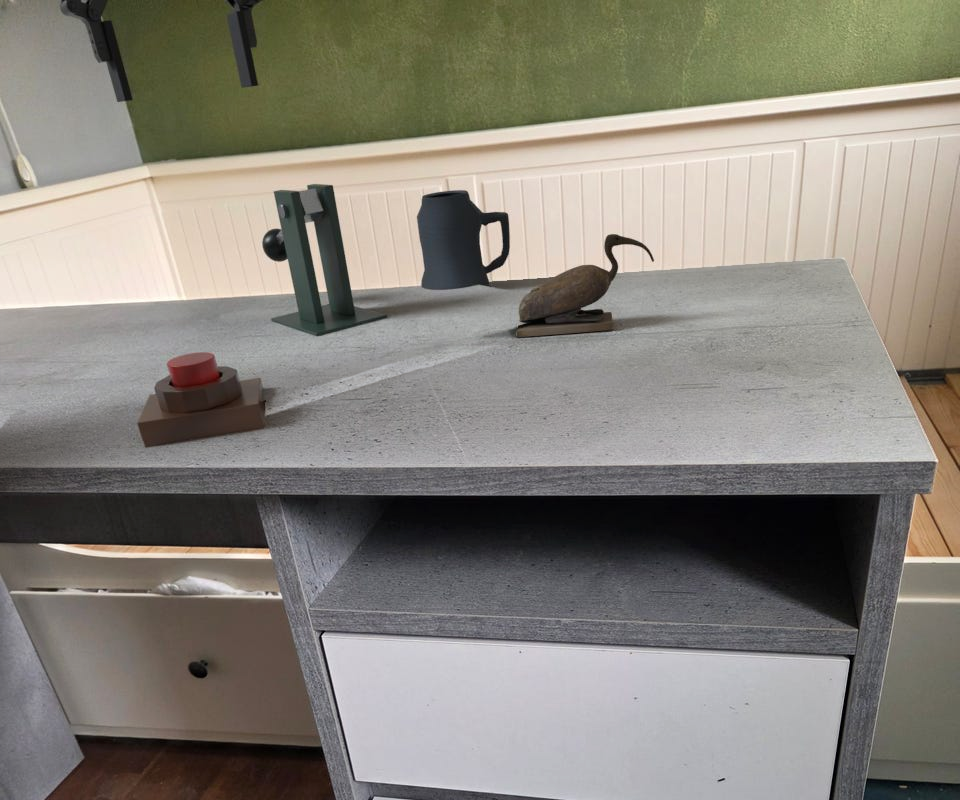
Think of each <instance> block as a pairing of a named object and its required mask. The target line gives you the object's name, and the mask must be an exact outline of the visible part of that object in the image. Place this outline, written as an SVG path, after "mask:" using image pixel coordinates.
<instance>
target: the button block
mask: <svg viewBox="0 0 960 800" xmlns="http://www.w3.org/2000/svg"><path fill="white" fill-rule="evenodd" d="M217 367H218V371H219V374H220V378H219V379H217V380H215V381H213V382H209V383H206V384H203V385H197V386H191V387H173V384H172V380H171V377H170V374H168V375H167V376H166V377H163V378H162V379H160V380H158V381H156V383H155V385H154V386H153V390H154V393H152V394H149V396H148V398H147V400H146V403H145V404H144V407H143V409H142V411H141V414H140V416H139V417H138V420H137V427H138V430H139V433H140V436H141V439H142V442H143V446H144V448H152V447H158V446H163V445H171V444H176V443H182V442H187V441H194V440H201V439H205V438H213V437H219V436H224V435H226V436H227V435H231V434H237V433H243V432H250V431H257V430H262V429H265V422H266V421H265V420H266V405H267V403H266V402H267V399H264V400H263V394H264V386H263V382H262V378H261V377H255V378H248V379H243V380H240V376H239V372H238V370H237V369H236V368H233V367H230V366H227V365H220V366H219V365H217Z"/></svg>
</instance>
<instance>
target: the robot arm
mask: <svg viewBox="0 0 960 800" xmlns="http://www.w3.org/2000/svg"><path fill="white" fill-rule="evenodd" d="M59 1H60V2H59V9H60V12H61V13H62V15H63V16H65V17H71V18H75V19H78V20H80V21H81V22H82V23H83V24H84V25H85V29H86V31H87V35H88V38H89V42H90V44H91V48H92V52H93V56H94V58H95V60H96V61H97V63H98V64H100V63H106V66H107V71H108V73H109V77H110V81H111V84H112V88H113V91H114V96H115V98H116V102H117V103H121V102H129V101H134V99H133V94H132V92H131V88H130V85H129V80H128V77H127V73H126V69H125V66H124V62H123V58H122V55H121V51H120V47H119V44H118V43H119V42H118V40H117V36H116V33H115V28H114V25H113V21H112V20H103V19H102V16H103V14H104V11H105V9H106V6H107V4H108V1H109V0H85V2H83V1H82V0H59ZM224 1H225V3H227V5H228V6H229V8H231V10H232V12H230V13H226V15H225V16H226V20H227V24H228V29H229V34H230V38H231V44H232V48H233V53H234V58H235V63H236V67H237V73H238V77H239V82H240V87H241V88H251V87H258V86H259V82H258V77H257V72H256V68H255V63H254V57H253V53H252V49H255V48H257V45H258V40H257V35H256V30H255V25H254V20H253V13H252V11H253V8H254V7H255V6H256V5H258V4H259V3H261V2H263V1H264V0H224Z"/></svg>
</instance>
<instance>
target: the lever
mask: <svg viewBox="0 0 960 800" xmlns="http://www.w3.org/2000/svg"><path fill="white" fill-rule="evenodd" d="M298 191H299V193H300V198H301V203H302V208H303V213H304V219H305V224H308V223H314V221H316V220H317V218H318V217H319V216H320V215H321V213H322V212H323V208H322V205H321V202H320V199H319V197H318V194H317V191H316V189H315V188H314V189H309V190H308V189H306V190H305V189H304V190H298ZM262 250H263V252H264V254H265V255H266V257H267V258H269V259H270V260H272V261H274V262H277V263H281V262H285V261H286V260H287V261H288V258H287V253H286V249H285V244H284V239H283V234H282V230H281V228H272V229H270V230H268V231H266V232H265V234H264V236H263V238H262Z"/></svg>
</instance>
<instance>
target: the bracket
mask: <svg viewBox="0 0 960 800" xmlns="http://www.w3.org/2000/svg"><path fill="white" fill-rule="evenodd" d="M306 188H307V190H309V189H314V188H315V189H316V191H317V194H318V197H319V199H320V202H321V205H322V208H323V212H322V213H321V215H320V216H319V217H318V218H317V220H316V221H313V225H314V230H315V231H314V232H315V236H316V240H317V241H316V242H317V245H318V252H319V258H320V262H321V267H322V273H323V277H324V283H325V289H326V294H327V299H328V303H326V304H323V305H322V302H321V301H322V300H321V296H320V290H319V286H318V281H317V275H316V271H315V270H316V269H315V266H314V260H313V255H312V251H311V244H310V239H309V235H308V230H307V225H306V224H307V223H305V219H304V213H303V208H302V203H301V198H300V193H299V191H300V190H291V189H289V190H288V189H278V190H274V191H273V196H274V200H275V206H276V210H277V214H278V219H279V224H280V229H281V230H282V234H283V239H284V244H285V249H286V253H287V258H288V259H287V263H288V268H289V272H290V273H289V274H290V277H291V282H292V287H293V292H294V296H295V301H296V307H297V310H298V311H295V312H291V313H287V314H283V315H279V316H275V317H271V318H270V320H271V322H272V323H276V324H279V325H281V326H284V327H288V328H291V329H293V330H296V331H299V332H302V333H305V334H308V335H311V336H314V337H320V336H325V335H327V334H332V333H335V332H339V331H342V330H347V329H351V328H355V327H358V326H362V325H365V324H368V323H372V322H376V321H380V320H384V319H387V318H388V315H387V314H386V313H382V312H379V311H374V310H370V309H366V308H363V307H359V306H357V305H356V306H355V304H354V298H353V292H352V288H351V287H352V286H351V281H350V276H349V270H348V265H347V258H346V252H345V247H344V241H343V236H342V230H341V224H340V218H339V212H338V208H337V207H338V206H337V201H336V195H335V190H334V185H333V184H321V183H312V184H307V185H306Z"/></svg>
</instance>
